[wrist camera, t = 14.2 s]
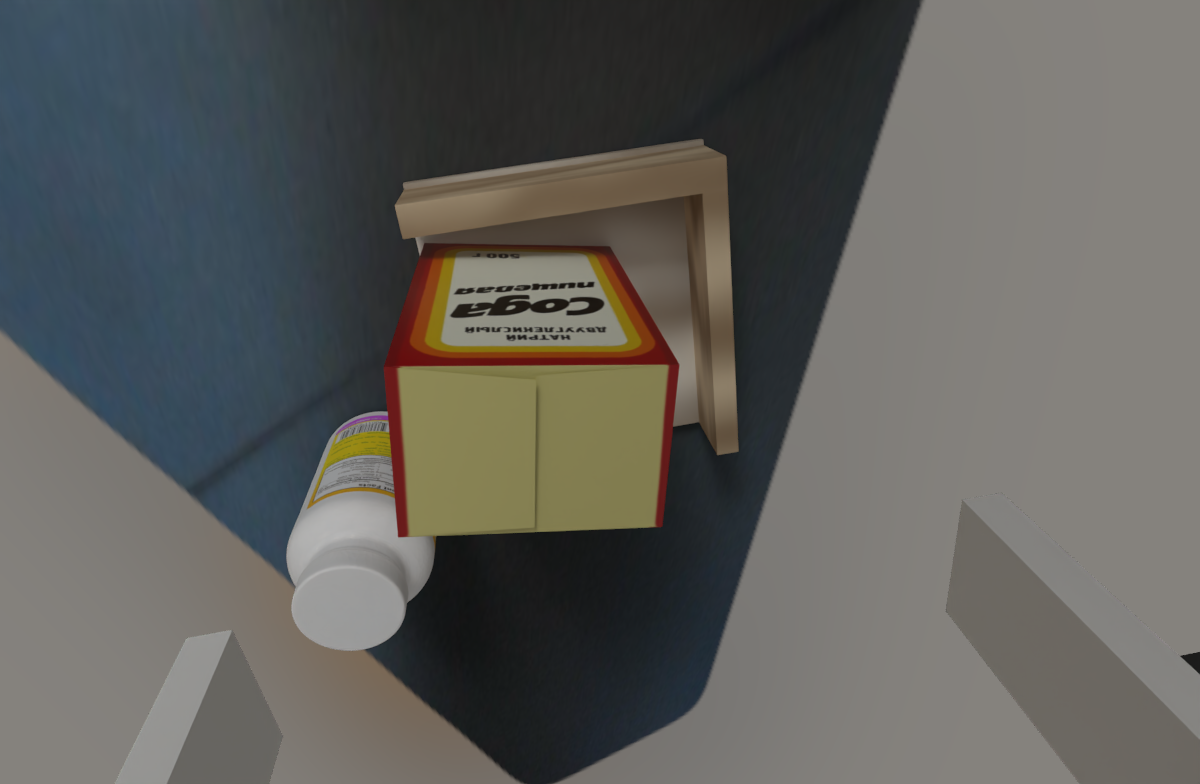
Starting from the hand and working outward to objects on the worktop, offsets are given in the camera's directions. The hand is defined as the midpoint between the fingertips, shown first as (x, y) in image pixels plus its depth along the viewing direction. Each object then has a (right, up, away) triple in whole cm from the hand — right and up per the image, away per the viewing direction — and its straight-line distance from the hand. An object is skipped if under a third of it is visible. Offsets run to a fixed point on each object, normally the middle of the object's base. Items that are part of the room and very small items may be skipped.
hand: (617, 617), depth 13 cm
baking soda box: (-5, +9, +26) cm, 27 cm away
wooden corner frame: (-2, +9, +27) cm, 28 cm away
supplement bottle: (-13, 0, +29) cm, 32 cm away
